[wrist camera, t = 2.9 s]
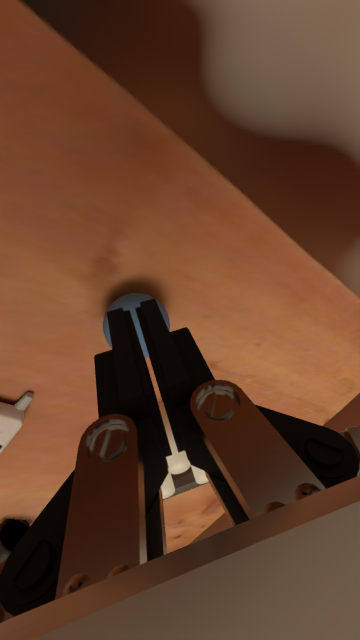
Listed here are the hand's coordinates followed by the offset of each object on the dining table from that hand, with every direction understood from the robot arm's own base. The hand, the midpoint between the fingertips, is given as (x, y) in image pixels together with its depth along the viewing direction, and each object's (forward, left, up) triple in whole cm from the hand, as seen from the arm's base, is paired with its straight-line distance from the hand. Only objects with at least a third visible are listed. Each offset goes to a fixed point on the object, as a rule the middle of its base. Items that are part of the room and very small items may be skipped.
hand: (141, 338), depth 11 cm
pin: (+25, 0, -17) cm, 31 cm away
